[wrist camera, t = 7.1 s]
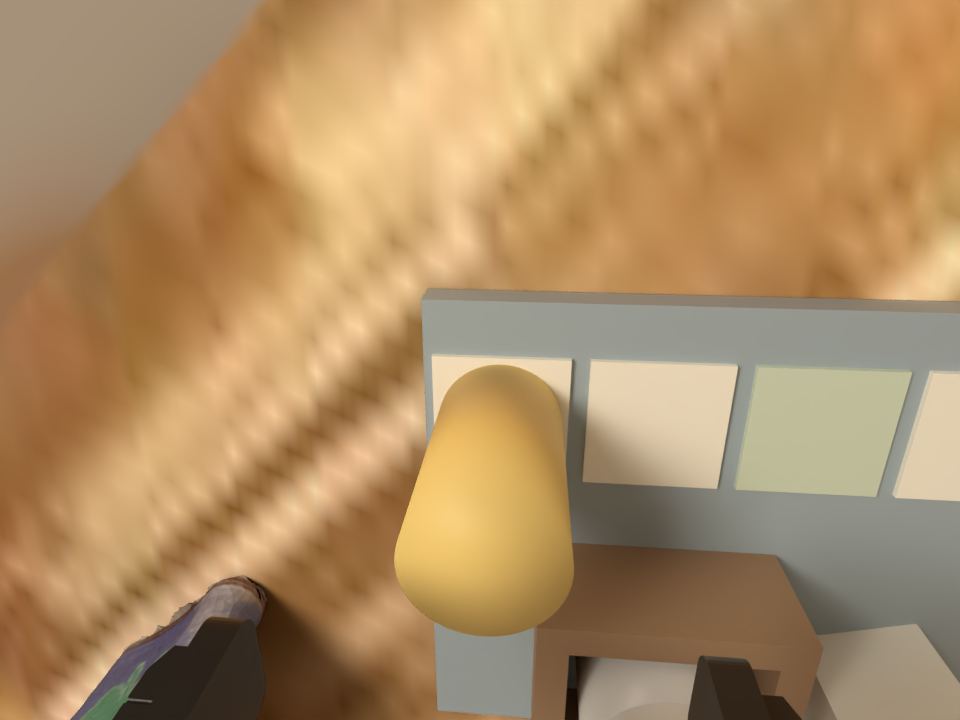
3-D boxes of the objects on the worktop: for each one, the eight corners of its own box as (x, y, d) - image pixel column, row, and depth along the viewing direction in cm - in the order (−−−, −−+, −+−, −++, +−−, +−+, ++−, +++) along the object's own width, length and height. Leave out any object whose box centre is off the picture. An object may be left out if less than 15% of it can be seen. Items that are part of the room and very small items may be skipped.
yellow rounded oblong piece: (438, 468, 21) (395, 628, 15) (440, 360, 20) (392, 485, 13) (556, 477, 21) (565, 644, 14) (567, 368, 19) (583, 500, 13)
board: (442, 685, 27) (420, 810, 22) (427, 288, 20) (392, 346, 15) (924, 724, 25) (1013, 869, 21) (1090, 305, 18) (1282, 375, 14)
